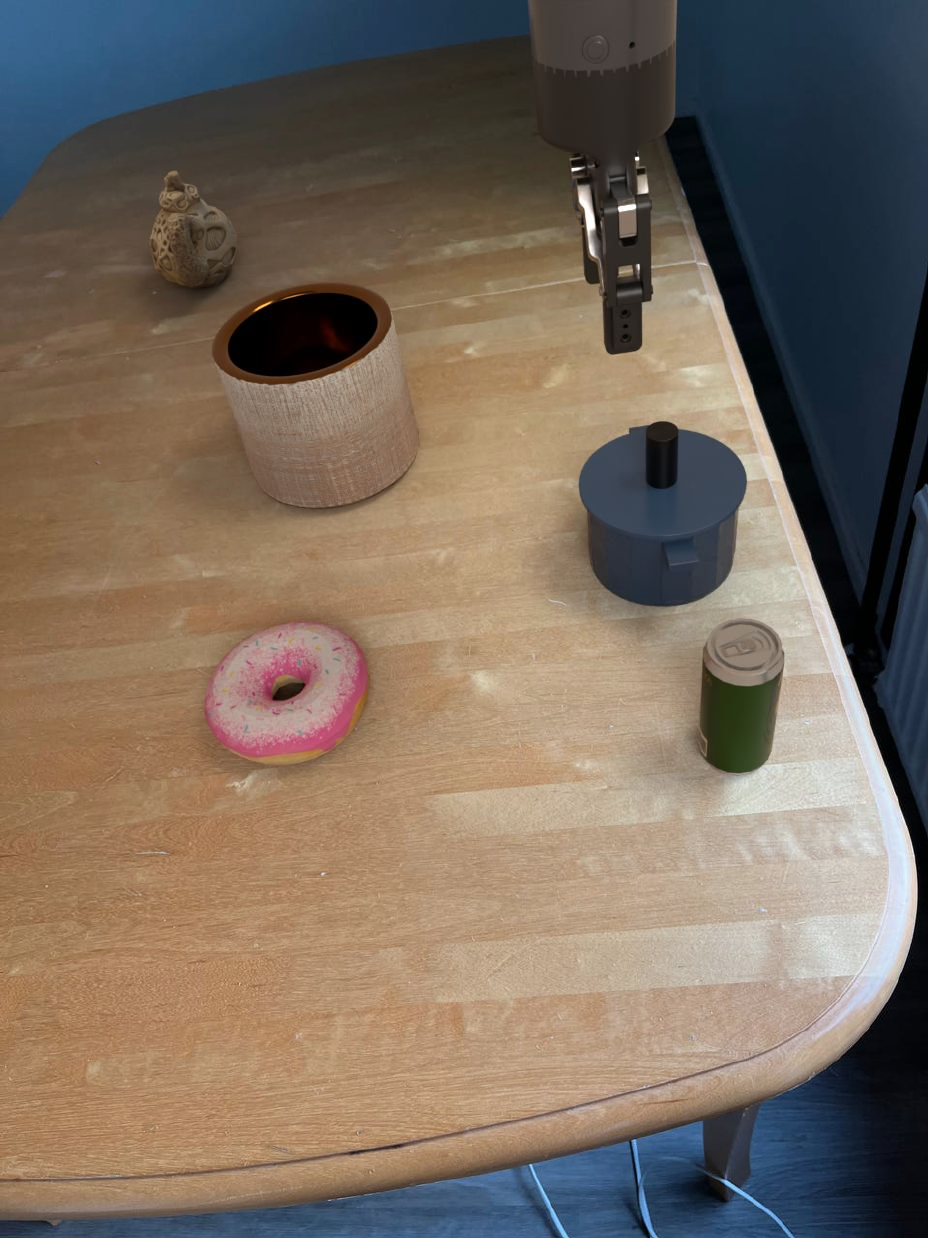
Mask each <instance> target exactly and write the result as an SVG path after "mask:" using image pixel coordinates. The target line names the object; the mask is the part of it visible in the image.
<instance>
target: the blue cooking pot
mask: <svg viewBox="0 0 928 1238" xmlns="http://www.w3.org/2000/svg"><path fill="white" fill-rule="evenodd" d="M649 425H650V424H646V425H639V426H632V427H629V428H628V434H629V433H633V432H636V431H642V430H646V428H647V427H648V426H649ZM739 509H740V506H739V507H738V509H737V510H736V511H735V512H734V514H732V515H731V516H730V517H729V518H728V519H727V520H725V521H724V522H723V523H721V524H720V525H718V526H716V527H714V528H712V529H710V530H708V531H705V532H703V533H700V534H697V535H693V536H690V537H685V538H680V539H670V540H651V539H641V538H636V537H631V536H628V535H624V534H621V533H618V532H616V531H613V530H611V529H609V528H608V527H606V526H604V525H602V524H601V523H600V522H598V521H597V520H596V519H595V518H593V517H592V516H591V515H590V513H589V512H588V511H587V510H586V525H587V537H588V540H587V541H588V553H589V556H590V565H591V568H592V571H593V574H594V575H595V578H596V579H597V580H598V582H599V583H600V584H601V585H602V586H604V588H605V589H606V590H607V591H609V592H610V593H612V594H613V595H614V596H616V597H618V598H620V599H622V600H625V601H627V602H630V603H633V604H637V605H640V606H641V605H642V606H647V607H657V608H658V607H659V608H660V607H663V608H664V607H665V608H666V607H675V606H681V605H686V604H689V603H693V602H696V601H698V600H701V599H703V598H705V597H707V596H708V595H710V594H712V593H713V592H715V591H716V590H717V589H718V588H719V587H720V586H722V585H723V583H724V582H725V581H726V579H727V578H728V576H729V574H730V573H731V571H732V567H733V565H734V558H735V553H736V546H737V533H738V523H739V522H738V521H739Z"/></svg>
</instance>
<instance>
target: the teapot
mask: <svg viewBox="0 0 928 1238" xmlns="http://www.w3.org/2000/svg"><path fill="white" fill-rule="evenodd" d="M163 181H164V184H165V187H164V189H163V190H161V192H160V193H159V198H158V203H159V205H160V208H161V209H160V210H159V212H158V214H157V215H156V217H155V221H154V224H153V226H152V229H151V235H150V237H149V244H148V247H149V250H150V253H151V258H152V261H153V266H154V270H155V271H156V272H157V274H158V275H160V276H161V278H163V279H164V280H166V281H168V282H169V283H172V284H176V285H178V286H179V285H180V286H182V287H186V288H190V289H193V290H194V289H195V290H196V289H203V288H208V287H213V286H216V285H219V284H220V283H221V282H222V281H224V279H225V277H226V276H227V275H228V274H229V272H230V271H231V269H232V267H233V264H234V262H235V261H236V258H237V256H238V254H239V238H238V234H237V233H236V230H235V228H234V226H233V224H232V222H231V220H230V219H229V217H228V216H226V214H225V213H224V212H223V211H222V210H220V209H218V208H217V207H216V206H212V205H209V204H208V203H207V202H206V201H205V200H204V199H203V198H202V197H201V194H200V192H199V191H198V188H197V187H196V185H193V184H190V183H184V182H183V181H182V179H181V177H180V175H179V172H178V171H177V170H172V171H169V172H168V173H167V174H166V176H165V177H164V178H163Z"/></svg>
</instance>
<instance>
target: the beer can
mask: <svg viewBox="0 0 928 1238" xmlns="http://www.w3.org/2000/svg"><path fill="white" fill-rule="evenodd" d="M702 648H703V649H702V663H701V681H700V682H701V683H700V703H699V704H700V705H699V721H698V739H697V746H698V749H699V753H700V755H701V756H702V757H703V758H704V760H705V761H706V762H707V764H708V765H709V766H710V767H712V768H713V769H714V770H715V771H717V772H719V773H722V774H725V775H727V776H738V777H739V776H745V775H750V774H751V773H754V772H755V771H757V770H758V769H760V768H761V767H762V766H763V765H764V764H765V763H766V762H767V761H768V760H769V759H770V756H771V753H772V750H773V743H774V736H775V729H776V723H777V716H778V709H779V701H780V696H781V689H782V683H783V674H784V668H785V651H784V648H783V641H782V639H781V637H780V635H779V634H778V632H776V630H775V629H773V628H772V626H770V625H768V624H766V623H764V622H763V621H760V620H756V619H753V618H743V617H738V618H732V619H727V620H725V621H723V622H721V623H719V624H718V625H716V626H715V627H713V629H712V630H711V631H710V633H709V634H708V637H707V640H706V642H705V644H704V645H703V647H702Z"/></svg>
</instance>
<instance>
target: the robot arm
mask: <svg viewBox="0 0 928 1238" xmlns="http://www.w3.org/2000/svg"><path fill="white" fill-rule="evenodd" d="M677 11H678V0H527V16H528V26H529V38H530V39H529V40H530V51H531V52H530V53H531V64H532V74H533V75H532V77H533V78H532V79H533V90H534V102H535V115H536V126H537V127H536V128H537V131H538V134H539V136H540V138H541V139H542V140H543V142H545V143H546V144H547V145H548V146H550V147H552V148H553V149H556V150H559V151H561V152H563V153H564V152H565V153H568V154H571V158H570V157H569V159H568V170H569V171H568V173H569V179H570V187H571V188H570V192H571V198H572V204H573V210H574V211H575V216H576V221H578V224H579V226H580V227H581V226H583V227H581V243H582V263H583V275H584V279H585V281H586V283H587V284H589V285H598V284H599V286H598V294H599V297H601V301H602V323H603V324H602V326H603V344H604V348H605V351H606V352H607V354H608V355H612V356H614V355H622V354H627V353H634V352H637V351H639V350H640V349H642V346H643V303H648V302H652V298H653V295H654V286H653V284H652V281H653V279H652V214H651V213H652V210H653V201H652V199H651V198H650V195H649V190H650V189H649V180H648V171H647V168H646V166H645V165H644V166H643V165H642V166H640V153H639V150H641V148H643V147H644V146H646V145H647V144H648V143H650V142H654V141H656V140H658V139H659V138H660V137H661V136H663V135H664V134H665V133H666V132H667V131H668V130H669V129H670V127H671V126H672V124H673V122H674V121H675V116H676V88H677V87H676V85H677V83H676V79H677V22H678V21H677V20H678V19H677V18H678V17H677V14H678V12H677ZM627 266H631V267H632V275H625V276H620V268H621V267H622V268H623V267H627Z"/></svg>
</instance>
